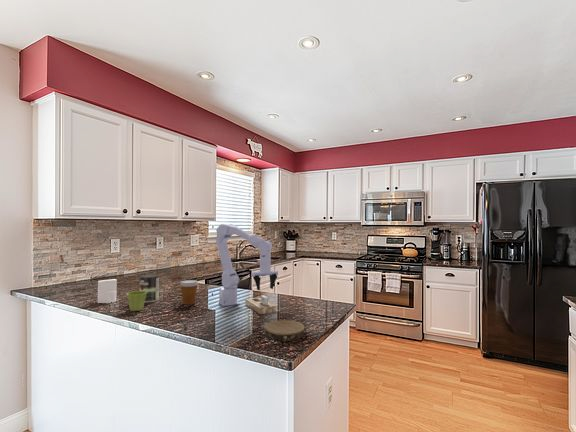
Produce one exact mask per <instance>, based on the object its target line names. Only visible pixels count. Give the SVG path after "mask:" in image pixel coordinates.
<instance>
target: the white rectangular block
mask: <svg viewBox="0 0 576 432" xmlns="http://www.w3.org/2000/svg"><path fill="white" fill-rule="evenodd" d="M117 282H118V281H117V278H113V279H103V280H101V279H100V280H98V281H97V304H99V303H106V304H111V302H112V303H115V302H116V301H117V288H118V287H117V284H118V283H117Z"/></svg>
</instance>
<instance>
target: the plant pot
mask: <svg viewBox="0 0 576 432" xmlns="http://www.w3.org/2000/svg"><path fill="white" fill-rule="evenodd" d="M146 293H147V292H146V291H139V290H135V291H130V292H126V296H127V299H128V306H129V311H130V312H136V311H137V312H138V311H142V310H143V309H144V306H145V303H144V301H145V296H146Z"/></svg>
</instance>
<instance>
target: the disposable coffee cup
mask: <svg viewBox="0 0 576 432" xmlns="http://www.w3.org/2000/svg"><path fill="white" fill-rule="evenodd" d="M179 285H180V289H181V290H180V292H181V297H182V304H183V305H193V304H195V303H196V296H197V290H198V289H197V288H198V285H199V282H198V280H195V279H186V280H181V281H180V283H179Z"/></svg>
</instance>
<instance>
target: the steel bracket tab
mask: <svg viewBox="0 0 576 432" xmlns="http://www.w3.org/2000/svg"><path fill="white" fill-rule="evenodd" d="M260 297H261V305H262V306H264V307H265V306H268V301H269V296H266V295H260Z"/></svg>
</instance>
